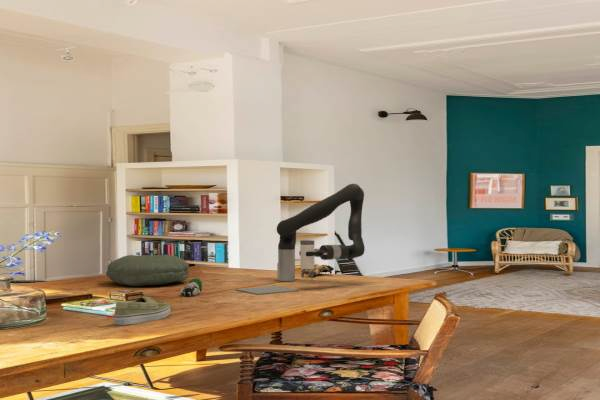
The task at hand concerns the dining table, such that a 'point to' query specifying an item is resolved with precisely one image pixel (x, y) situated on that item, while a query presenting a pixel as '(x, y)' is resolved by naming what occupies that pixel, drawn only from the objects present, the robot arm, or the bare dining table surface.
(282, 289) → the slate mat
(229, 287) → the dining table surface
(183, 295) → the toy
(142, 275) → the pillow
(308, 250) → the cream block
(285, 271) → the robot arm
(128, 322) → the boat shoe
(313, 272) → the figurine
